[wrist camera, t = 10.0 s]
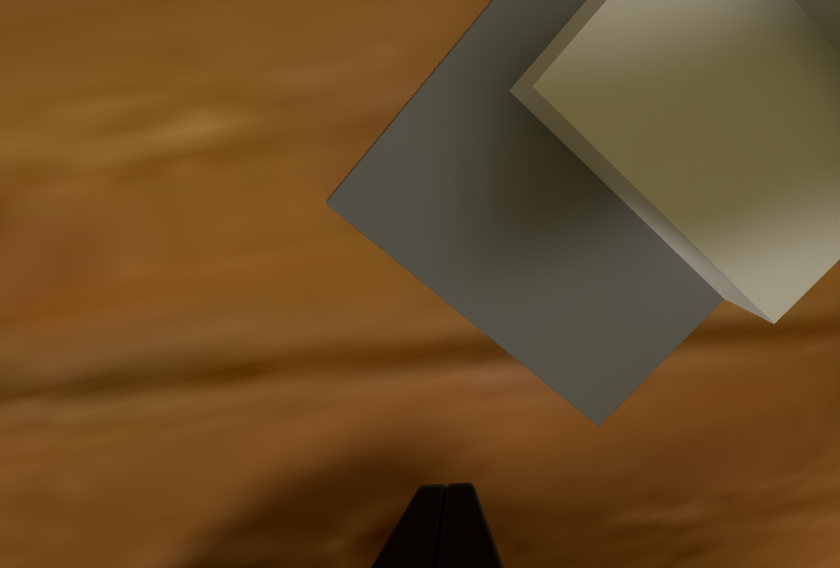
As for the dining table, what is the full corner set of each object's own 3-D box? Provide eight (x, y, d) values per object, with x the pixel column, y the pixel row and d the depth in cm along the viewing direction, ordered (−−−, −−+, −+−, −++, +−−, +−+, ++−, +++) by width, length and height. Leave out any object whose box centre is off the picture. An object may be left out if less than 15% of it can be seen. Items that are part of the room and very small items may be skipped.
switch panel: (588, 412, 22) (655, 501, 17) (327, 198, 19) (314, 228, 14) (931, 61, 19) (1130, 41, 14) (694, -246, 16) (839, -406, 11)
